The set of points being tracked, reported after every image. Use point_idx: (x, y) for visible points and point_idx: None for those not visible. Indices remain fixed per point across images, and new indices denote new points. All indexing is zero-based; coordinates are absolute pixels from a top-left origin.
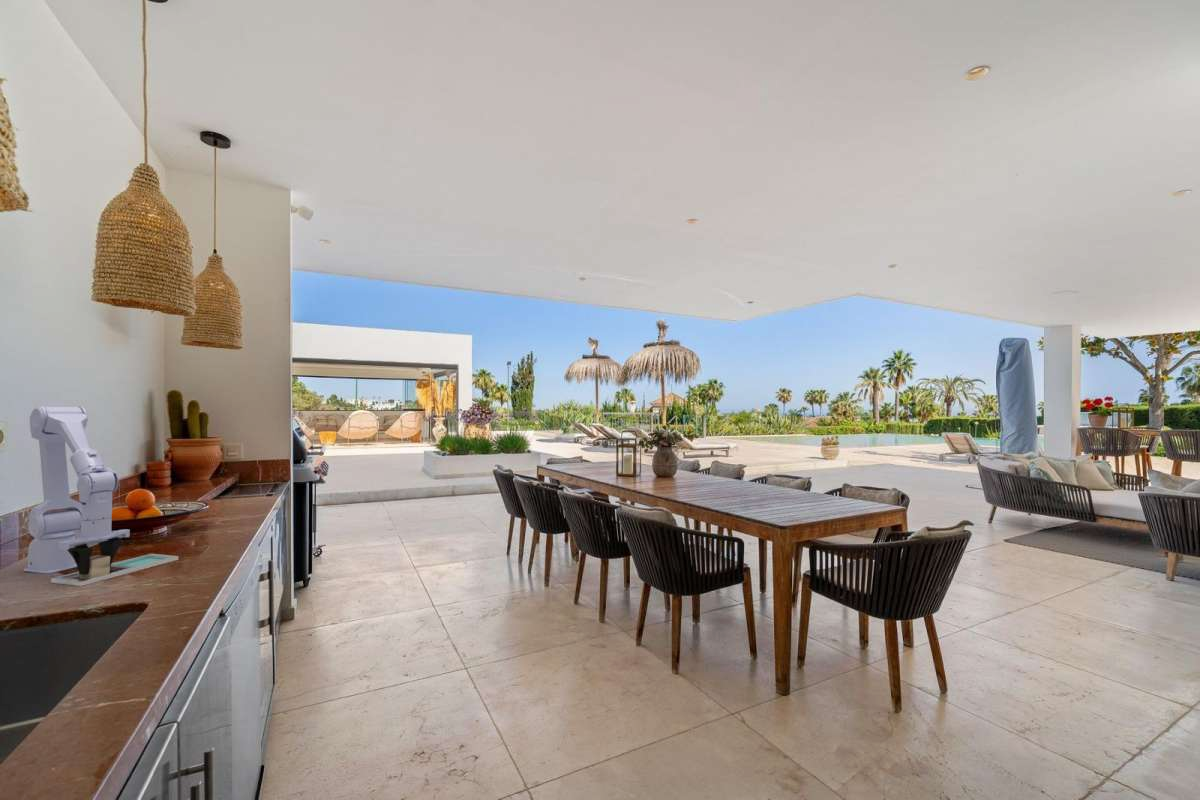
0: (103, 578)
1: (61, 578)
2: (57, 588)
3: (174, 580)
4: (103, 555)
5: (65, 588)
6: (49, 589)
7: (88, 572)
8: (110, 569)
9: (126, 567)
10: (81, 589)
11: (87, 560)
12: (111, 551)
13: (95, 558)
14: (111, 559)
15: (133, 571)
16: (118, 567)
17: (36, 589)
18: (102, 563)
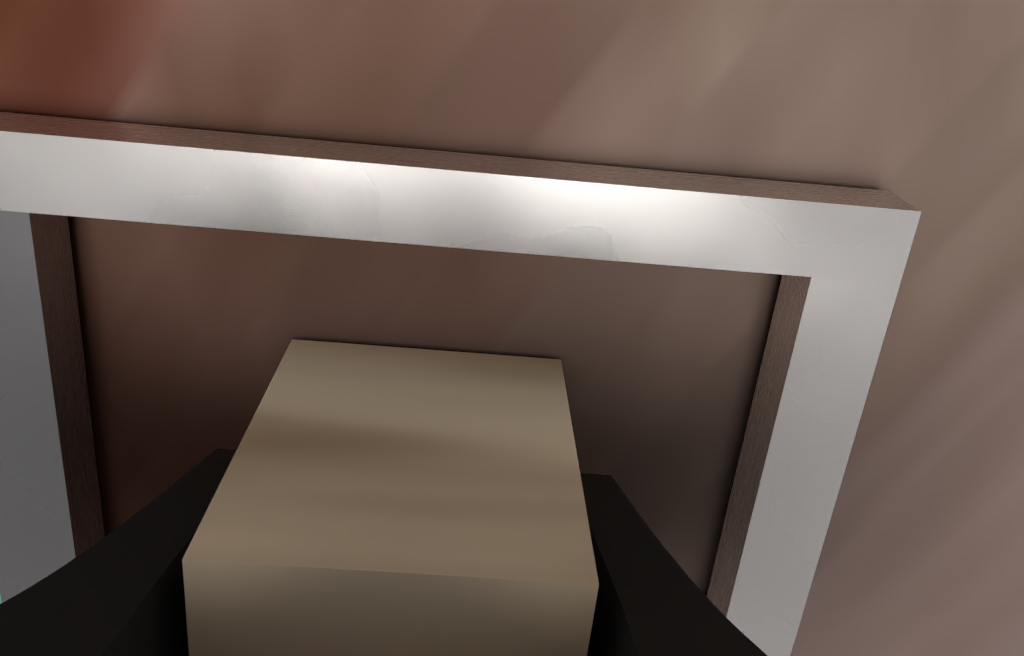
0: (543, 162)
1: None
2: (945, 441)
3: None
4: None
5: (949, 337)
6: (985, 495)
7: None
8: None
9: (5, 303)
10: (1016, 26)
11: (676, 625)
12: (97, 653)
13: (456, 651)
14: (151, 530)
15: (5, 113)
16: (62, 442)
17: (976, 633)
18: (379, 483)
